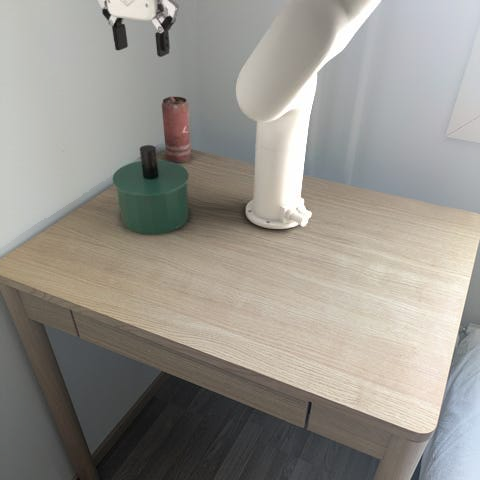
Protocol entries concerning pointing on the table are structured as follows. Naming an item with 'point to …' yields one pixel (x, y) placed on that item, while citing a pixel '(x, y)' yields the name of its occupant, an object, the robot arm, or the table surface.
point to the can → (176, 129)
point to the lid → (150, 175)
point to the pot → (154, 211)
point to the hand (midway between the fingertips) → (142, 51)
